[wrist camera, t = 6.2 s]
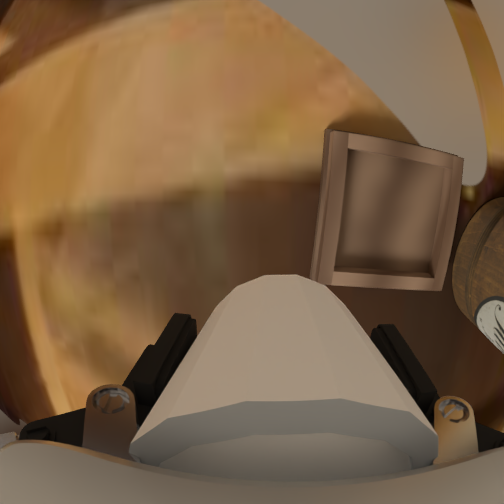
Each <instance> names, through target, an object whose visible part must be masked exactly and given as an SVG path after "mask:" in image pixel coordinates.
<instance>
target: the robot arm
mask: <svg viewBox="0 0 504 504" xmlns="http://www.w3.org/2000/svg"><path fill="white" fill-rule="evenodd" d="M196 338H197V327H196V319H191V315H189V314H179V313H175V314H174V315H173V316H172V318H171V319H170V321H169V323H168V324H167V326H166V327H165V329H164V331H163V332H162V334H161V335H160V337H159V339H158V340H157V342H156V343H155V345H151V344H150V345H148V346H147V347H146V349H145V350H144V352H143V353H142V355H141V356H140V358H139V360H138V361H137V363H136V364H135V366H134V367H133V369H132V370H131V372H130V374H129V375H128V377H127V378H126V380H125V381H124V383H123V385H122V386H121V385H116V384H109V385H103V386H100V387H98V388H96V389H95V390H93V391H92V392H91V393H90V394H89V395H88V398H87V402H86V408H83V409H79V410H76V411H72V412H68V413H65V414H61V415H57V416H53V417H49V418H45V419H41V420H37V421H33V422H31V423H29V424H27V425H26V426H25V427H24V428H23V429H22V431H21V432H20V435H16V433H15V432H12V433H6V434H1V435H0V504H504V433H502V432H500V431H497V430H494V429H492V428H489V427H486V426H484V425H481V424H479V423H476V422H475V419H474V412H473V409H472V407H471V406H470V405H469V403H467V402H466V401H465V400H463V399H461V398H459V397H454V396H445V397H442V398H440V397H439V396H438V394H437V390H436V388H435V386H434V385H433V383H432V382H431V380H430V378H429V377H428V375H427V374H426V372H425V371H424V369H423V367H422V366H421V364H420V363H419V361H418V360H417V358H416V357H415V355H414V354H413V352H412V351H411V349H410V348H409V346H408V345H407V343H406V342H405V340H404V339H403V337H402V336H401V334H400V333H399V331H398V330H397V328H396V327H395V326H394V325H393V324H379V325H378V326H377V328H374V329H373V330H372V333H371V337H370V339H371V341H372V342H373V343H374V345H375V346H376V348H377V349H378V350H379V352H380V353H381V354H382V356H383V357H384V359H385V360H386V361H387V363H388V364H389V365H390V367H391V368H392V370H393V371H394V372H395V374H396V375H397V377H398V378H399V379H400V381H401V382H402V384H403V385H404V387H405V388H406V389H407V391H408V392H409V394H410V395H411V397H412V398H413V399H414V401H415V402H416V404H417V405H418V407H419V408H420V410H421V411H422V413H423V414H424V415H425V417H426V418H427V420H428V421H429V423H430V424H431V426H432V427H433V429H434V430H435V432H436V433H437V435H438V457H436V458H434V459H433V460H432V462H431V463H430V465H429V466H427V467H422V468H418V469H413V470H408V471H403V472H397V473H391V474H385V475H378V476H370V477H362V478H353V479H342V480H327V481H258V480H243V479H231V478H222V477H213V476H206V475H199V474H192V473H186V472H181V471H175V470H170V469H165V468H161V467H156V466H151V465H147V464H142V462H141V459H140V457H138V456H136V455H133V454H131V453H129V448H130V443H131V442H132V440H133V439H134V437H135V435H136V434H137V432H138V431H139V429H140V427H141V426H142V424H143V423H144V421H145V419H146V418H147V416H148V415H149V413H150V411H151V410H152V408H153V407H154V405H155V403H156V402H157V400H158V399H159V397H160V395H161V394H162V392H163V391H164V389H165V387H166V386H167V384H168V383H169V381H170V379H171V378H172V376H173V375H174V373H175V371H176V370H177V368H178V367H179V365H180V363H181V362H182V360H183V359H184V357H185V355H186V354H187V352H188V351H189V349H190V347H191V346H192V344H193V343H194V341H195V340H196Z"/></svg>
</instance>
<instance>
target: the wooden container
mask: <svg viewBox="0 0 504 504" xmlns="http://www.w3.org/2000/svg"><path fill="white" fill-rule="evenodd" d="M452 284H453V292H454V297H455V300H456V303H457V305H458V307H459V308H460V310H461V311H462V313H463V314H464V315H465V316H466V317H467V318H468V319H469V320H470V321H471V322H473V323H474V324H475V325H476V326H477V327H478V328H479V329H480V331H481V332H482V333H483V334H484V335H485V336H486V337H487V338H488V339H489V340H490V341H491V342H492V343H493V344H494V345H495V346H496V347H497V348H498V349H499V350H500V351H501V352H502V353H503V354H504V197H500V198H496V199H493V200H491V201H489V202H488V203H486V204H485V205H483V206H482V207H481V208H480V209H479V210H478V211H477V212H476V214H475V215H474V216H473V218H472V219H471V220H470V222H469V224H468V225H467V227H466V229H465V231H464V233H463V235H462V237H461V239H460V242H459V245H458V248H457V251H456V255H455V260H454V265H453V274H452Z"/></svg>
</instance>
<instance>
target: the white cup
mask: <svg viewBox="0 0 504 504" xmlns="http://www.w3.org/2000/svg"><path fill="white" fill-rule="evenodd" d="M129 453H131V454H133V455H136V456H138V457H140V459H141V462H142V464H147V465H151V466H156V467H161V468H165V469H170V470H175V471H181V472H186V473H192V474H199V475H206V476H213V477H222V478H231V479H243V480H258V481H327V480H342V479H353V478H362V477H370V476H378V475H385V474H391V473H397V472H403V471H408V470H413V469H418V468H422V467H427V466H429V465H430V463H431V462H432V460H433V459H434V458H436V457H438V435H437V433H436V432H435V430H434V429H433V427H432V426H431V424H430V423H429V421H428V420H427V418H426V417H425V415H424V414H423V413H422V411H421V410H420V408H419V407H418V405H417V404H416V402H415V401H414V399H413V398H412V397H411V395H410V394H409V392H408V391H407V389H406V388H405V387H404V385H403V384H402V382H401V381H400V379H399V378H398V377H397V375H396V374H395V372H394V371H393V370H392V368H391V367H390V365H389V364H388V363H387V361H386V360H385V359H384V357H383V356H382V354H381V353H380V352H379V350H378V349H377V348H376V346H375V345H374V343H373V342H372V341H371V339H370V338H369V337H368V335H367V334H366V333H365V331H364V330H363V329H362V327H361V326H360V325H359V323H358V322H357V321H356V319H355V318H354V317H353V315H352V314H351V313H350V311H349V310H348V309H347V307H346V306H345V305H344V304H343V303H342V302H341V301H340V300H339V299H338V298H337V297H336V296H335V295H334V294H333V293H332V292H331V291H330V290H329V289H328V288H327V287H326V286H325V285H323V284H320V283H317V282H315V281H312V280H309V279H307V278H304V277H302V276H299V275H264V276H262V277H259V278H257V279H254V280H252V281H249V282H247V283H244V284H242V285H239V286H237V287H236V288H235V289H233V290H232V291H231V292H230V293H229V294H228V295H227V296H226V297H225V298H224V299H223V300H222V301H221V302H220V303H219V304H218V305H217V306H216V308H215V309H214V311H213V312H212V314H211V316H210V317H209V319H208V320H207V322H206V324H205V325H204V327H203V328H202V330H201V332H200V333H199V335H198V336H197V338H196V340H195V341H194V343H193V344H192V346H191V347H190V349H189V351H188V352H187V354H186V355H185V357H184V359H183V360H182V362H181V363H180V365H179V367H178V368H177V370H176V371H175V373H174V375H173V376H172V378H171V379H170V381H169V383H168V384H167V386H166V387H165V389H164V391H163V392H162V394H161V395H160V397H159V399H158V400H157V402H156V403H155V405H154V407H153V408H152V410H151V411H150V413H149V415H148V416H147V418H146V419H145V421H144V423H143V424H142V426H141V427H140V429H139V431H138V432H137V434H136V435H135V437H134V439H133V440H132V442H131V443H130V448H129Z"/></svg>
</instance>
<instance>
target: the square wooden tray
mask: <svg viewBox="0 0 504 504" xmlns="http://www.w3.org/2000/svg"><path fill="white" fill-rule="evenodd" d="M463 161H464V159H463V158H461V157H458V156H457V155H454V154H450V153H447V152H443V151H439V150H435V149H431V148H427V147H423V146H419V145H415V144H410V143H406V142H401V141H396V140H392V139H387V138H381V137H376V136H371V135H365V134H359V133H353V132H347V131H340V130H333V129H325V133H324V147H323V160H322V172H321V183H320V194H319V203H318V213H317V222H316V231H315V239H314V248H313V256H312V263H311V271H310V279H311V280H312V281H316V282H317V283H320V284H323V285H338V286H354V287H371V288H389V289H408V290H430V291H441V290H442V286H443V283H444V279H445V275H446V271H447V266H448V262H449V257H450V253H451V248H452V243H453V238H454V232H455V227H456V221H457V215H458V208H459V201H460V193H461V184H462V173H463Z"/></svg>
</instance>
